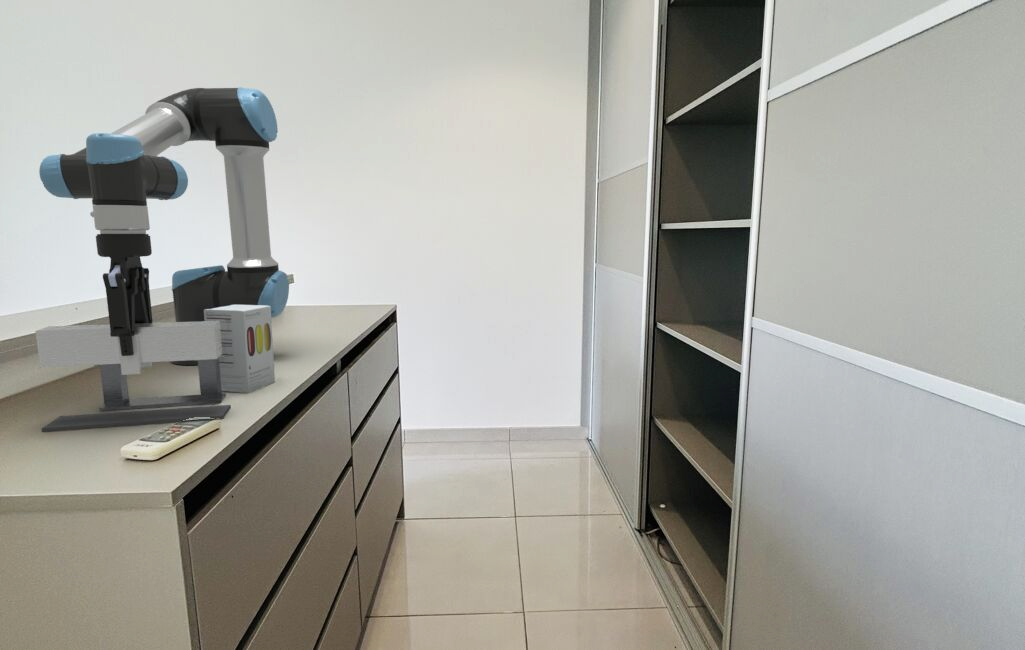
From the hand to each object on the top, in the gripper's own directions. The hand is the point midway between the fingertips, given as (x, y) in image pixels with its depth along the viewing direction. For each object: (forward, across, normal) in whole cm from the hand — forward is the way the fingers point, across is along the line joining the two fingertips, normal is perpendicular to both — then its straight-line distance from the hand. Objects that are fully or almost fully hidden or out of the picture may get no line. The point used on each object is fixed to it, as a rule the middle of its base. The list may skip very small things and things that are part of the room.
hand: (137, 369), depth 99 cm
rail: (-2, 0, 0) cm, 2 cm away
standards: (+9, -9, +1) cm, 13 cm away
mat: (+9, 0, 0) cm, 9 cm away
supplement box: (+9, -19, +13) cm, 25 cm away
